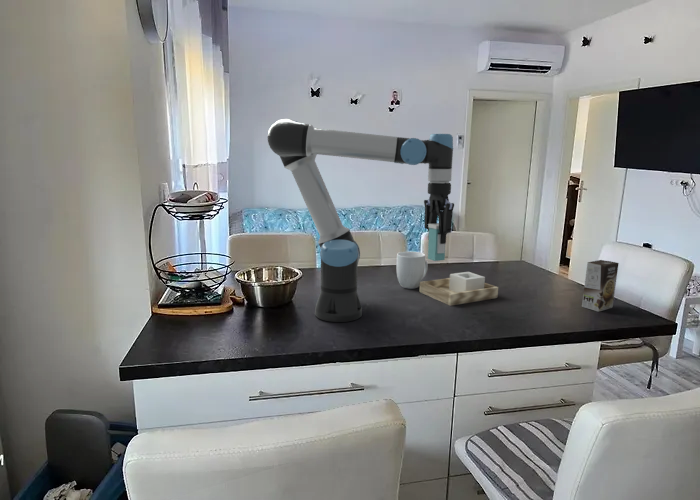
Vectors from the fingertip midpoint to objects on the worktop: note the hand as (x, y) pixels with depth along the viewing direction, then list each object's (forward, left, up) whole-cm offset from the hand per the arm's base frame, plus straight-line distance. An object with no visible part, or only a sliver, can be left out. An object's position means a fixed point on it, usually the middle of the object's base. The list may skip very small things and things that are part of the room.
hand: (436, 251), depth 160 cm
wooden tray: (+16, +6, -19) cm, 25 cm away
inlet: (+20, +6, -18) cm, 27 cm away
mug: (+7, +23, -19) cm, 31 cm away
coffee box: (+51, -26, -19) cm, 60 cm away
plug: (0, 0, -3) cm, 3 cm away
